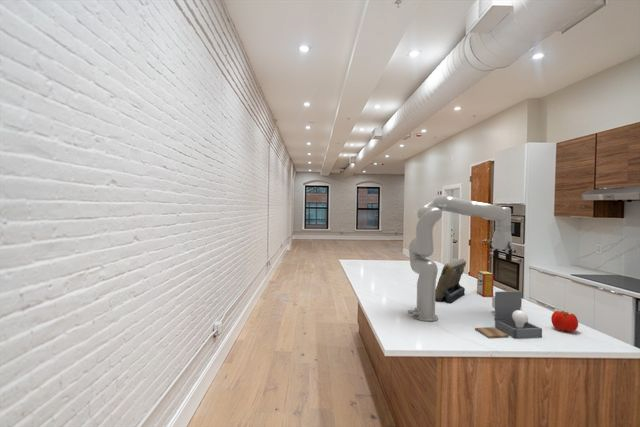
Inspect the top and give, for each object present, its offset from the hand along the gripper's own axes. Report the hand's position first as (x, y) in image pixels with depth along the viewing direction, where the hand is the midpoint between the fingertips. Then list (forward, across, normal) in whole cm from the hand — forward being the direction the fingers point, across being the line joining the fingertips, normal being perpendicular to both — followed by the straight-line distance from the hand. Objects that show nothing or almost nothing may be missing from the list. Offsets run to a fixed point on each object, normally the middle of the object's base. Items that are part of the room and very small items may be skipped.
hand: (502, 259), depth 176 cm
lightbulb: (+31, +25, -10) cm, 41 cm away
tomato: (+32, +24, +16) cm, 43 cm away
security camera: (+32, 0, -1) cm, 32 cm away
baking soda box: (+32, -39, +19) cm, 54 cm away
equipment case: (+31, +24, -10) cm, 41 cm away
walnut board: (+31, +24, -24) cm, 46 cm away
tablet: (+32, -36, -9) cm, 49 cm away
